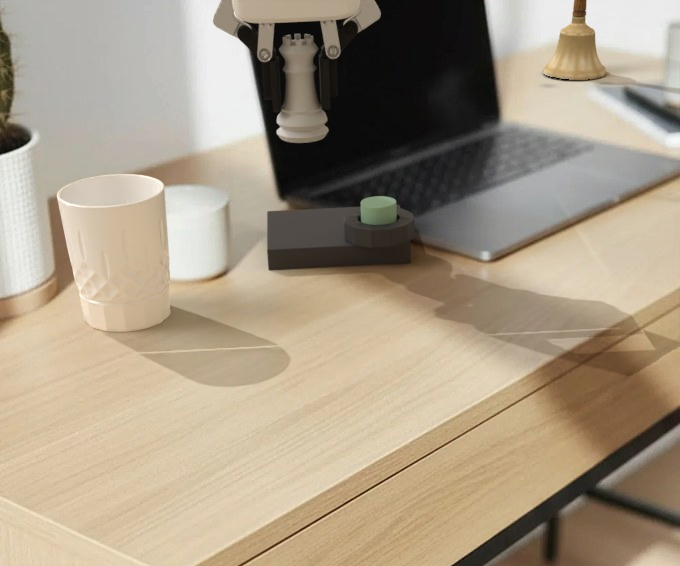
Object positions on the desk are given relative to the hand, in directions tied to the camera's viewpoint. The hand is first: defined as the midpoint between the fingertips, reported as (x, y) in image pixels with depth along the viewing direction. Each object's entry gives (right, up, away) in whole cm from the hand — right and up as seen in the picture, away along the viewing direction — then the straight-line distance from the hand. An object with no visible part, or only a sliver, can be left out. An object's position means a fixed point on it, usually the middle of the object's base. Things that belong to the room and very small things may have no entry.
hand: (301, 104), depth 100 cm
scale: (+3, -11, +5) cm, 12 cm away
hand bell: (+34, +23, +57) cm, 70 cm away
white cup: (-13, -19, -6) cm, 24 cm away
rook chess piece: (0, -2, +2) cm, 3 cm away
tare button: (+6, -10, +1) cm, 12 cm away
